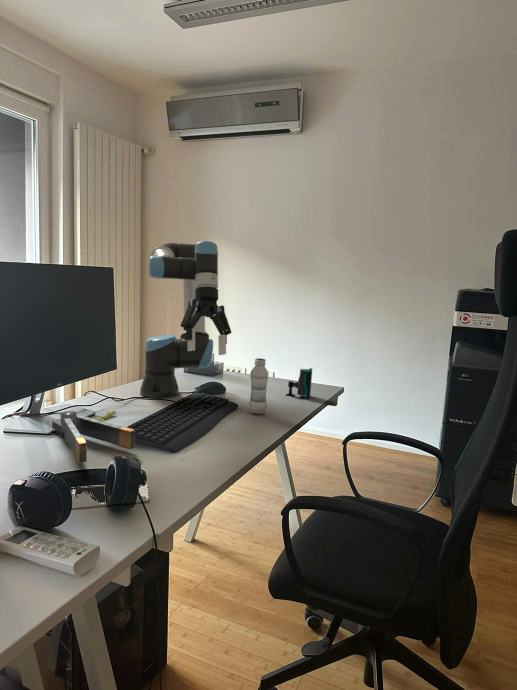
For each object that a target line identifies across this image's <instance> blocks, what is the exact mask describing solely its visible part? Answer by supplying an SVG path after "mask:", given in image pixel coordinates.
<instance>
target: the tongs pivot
mask: <svg viewBox="0 0 517 690" xmlns="http://www.w3.org/2000/svg"><path fill="white" fill-rule="evenodd" d="M77 416H78V415H77V411H74V410H67V411H62V412H61V413H60V419H59V418H58V419H53V420H52V421H51V422H52V423H51V424H52V426H51V428H53V429H55V431H56V432H55V431H54V432H55V433H56V434H58V435H60V438H61V439H65V440H67V439H66V438H65V436H64V419H67V418H70V419H71V421H72V422H73V424H74V425H75V427H76V417H77Z"/></svg>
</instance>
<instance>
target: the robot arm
mask: <svg viewBox="0 0 517 690" xmlns="http://www.w3.org/2000/svg"><path fill="white" fill-rule="evenodd" d="M218 257H219V252H218V245H217V244H216V243H215V242H213V241H208V240H203V241H198V242H196V244H195V243H194V244H193V243H176V242H168V243H167V242H166V243H162V244H160V245H158V246H156V247H154V248H153V249H152V251H151V252H150V256H149V261H148V262H149V263H148V264H149V266H148V275H149V277H150V278H152V279H159V280H160V279H168V280H169V279H171V280H182V281H183V285H182V286H183V318H182V321H181V322H180V327H181V328H182V329H183V332H182V333H181V334H180V336H179V338H177V337H176V336H175V334H160V335H154V336H150V337H149V338H147V339H146V340H145V347H144V353H145V355H144V358H145V359H144V360H145V361H144V376H143V379H142V382H141V385H140V387H139V388H140V389H139V394H140V395H141V396H142V397H146V398H150V399H168V398H173V397H176V396H178V395H179V393H180V392H179V391H180V389H179V384H178V382H177V378H176V376H175V374H176V373H175V372H176V371H175V369H204V368H205V369H206V368H208V367H209V366H210V365H211V362H212V358H213V357H212V356H213V351H214V340H213V339H212V338H210V335H209V333H208V332H207V331H206V318H209V319H210V320H211V321H212V322H213V324H214V326H215V328H216V329H217V331H218V333H219V334H218V337H217V338H218V340H217V341H218V355H219V356H224V355H226V354H227V344H228V337H227V336H228V335H230V334H232V329H231V326H230V324H229V320H228V318H227V315H226V312H225V306H224V305H218V300H219V289H218V288H219V274H218V273H219V267H218V265H219V263H218V262H219V259H218Z"/></svg>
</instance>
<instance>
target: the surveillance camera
mask: <svg viewBox="0 0 517 690" xmlns="http://www.w3.org/2000/svg"><path fill="white" fill-rule="evenodd" d="M312 378H313V367H311V368H308V369H307V368H300V369H299V377H298V381H296V382H294V381H293V380H292V381H291V380H289V381H288V389H289V391H288V393H286V394H285V397H286V396H291V397H290V398H295V396H296V394H294V393H293V388H296V389H297V395H298V396H303V397H304V398H305V399H307V398H310V399H311V393H312V392H311V389H312Z"/></svg>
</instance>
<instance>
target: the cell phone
mask: <svg viewBox="0 0 517 690" xmlns="http://www.w3.org/2000/svg"><path fill="white" fill-rule="evenodd" d="M92 486H93V487H89V488H88V487H87V486H80V487H81V488H80V489H79V488H78V489H75V490H74V489H73V490H72V491H73V492H72V494H74V496H76V495H77V494H81V493H82V492H84V491H85V490H86V491H85V493H86V492H87V491H88V493H87V494H89V493H90V492H91V494H92V493H93V494H92V496H91V498H92V497H93V495H94V497H93V498H92V499H94V500H95V501H97V500H98V503H99V502H100V503H101V504H104V503H105V495H104V486H100V485H99V486H100V487H94V486H95V485H92ZM82 487H83V488H82ZM84 487H85V488H84ZM147 487H148V482H147V483H146V485H145V486H141V487H140V488H139V493H140V495H141V496H143V497H144V496H145V497H146V498H147V499H148V497H149V498H150V494H148V492H149V487H148V488H147ZM91 494H90V495H91ZM148 495H149V496H148ZM77 497H78V496H77ZM77 497H76V498H77ZM95 497H96V498H95ZM96 499H97V500H96ZM147 499H146V500H147ZM100 503H99V504H100ZM105 504H106V503H105Z"/></svg>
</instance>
